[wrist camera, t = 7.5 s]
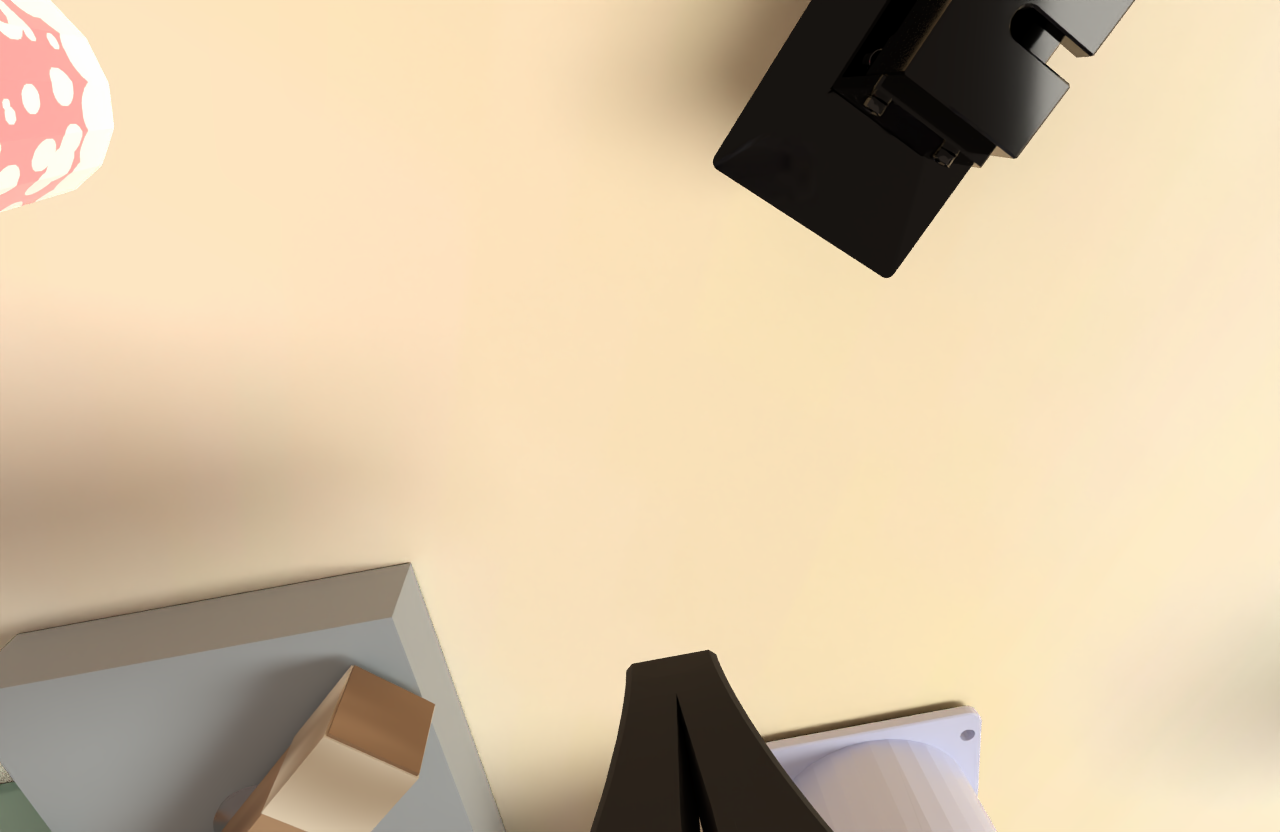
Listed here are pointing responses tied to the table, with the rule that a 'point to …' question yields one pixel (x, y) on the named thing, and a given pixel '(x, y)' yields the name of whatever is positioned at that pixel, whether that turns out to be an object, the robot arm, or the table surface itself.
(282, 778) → the lever
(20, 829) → the teal dish
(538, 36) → the table surface
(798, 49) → the black blocky device
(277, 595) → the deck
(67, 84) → the beverage cup
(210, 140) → the table surface
